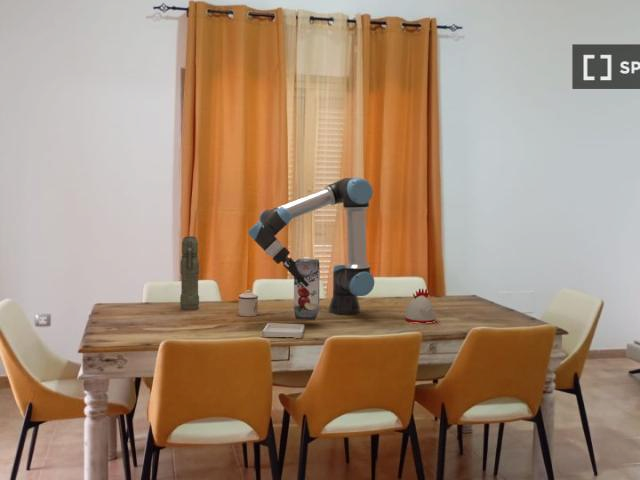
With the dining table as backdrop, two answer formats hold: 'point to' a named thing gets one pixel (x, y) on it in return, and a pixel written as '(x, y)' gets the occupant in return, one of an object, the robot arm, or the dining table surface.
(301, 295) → the juice carton
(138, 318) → the dining table surface
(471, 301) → the dining table surface
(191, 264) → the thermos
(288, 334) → the carton tray
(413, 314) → the grey dome with crest
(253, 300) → the teacup with lid
